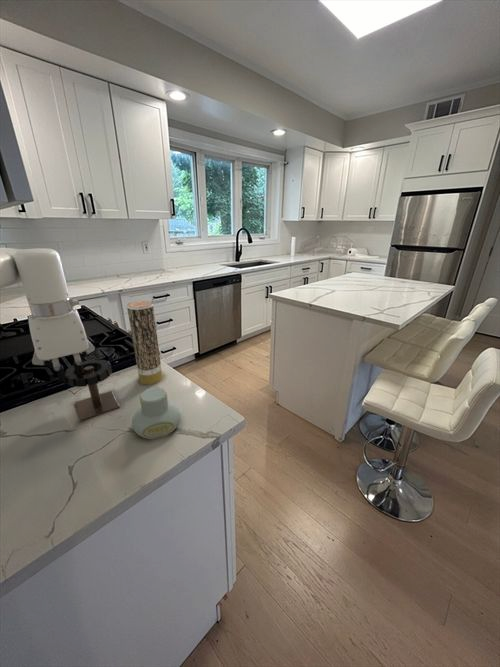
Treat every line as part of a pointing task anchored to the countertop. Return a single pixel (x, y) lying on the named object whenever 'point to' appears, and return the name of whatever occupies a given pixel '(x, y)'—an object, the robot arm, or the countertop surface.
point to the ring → (92, 378)
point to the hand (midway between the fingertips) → (72, 379)
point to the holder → (96, 401)
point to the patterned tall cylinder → (145, 341)
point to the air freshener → (155, 415)
